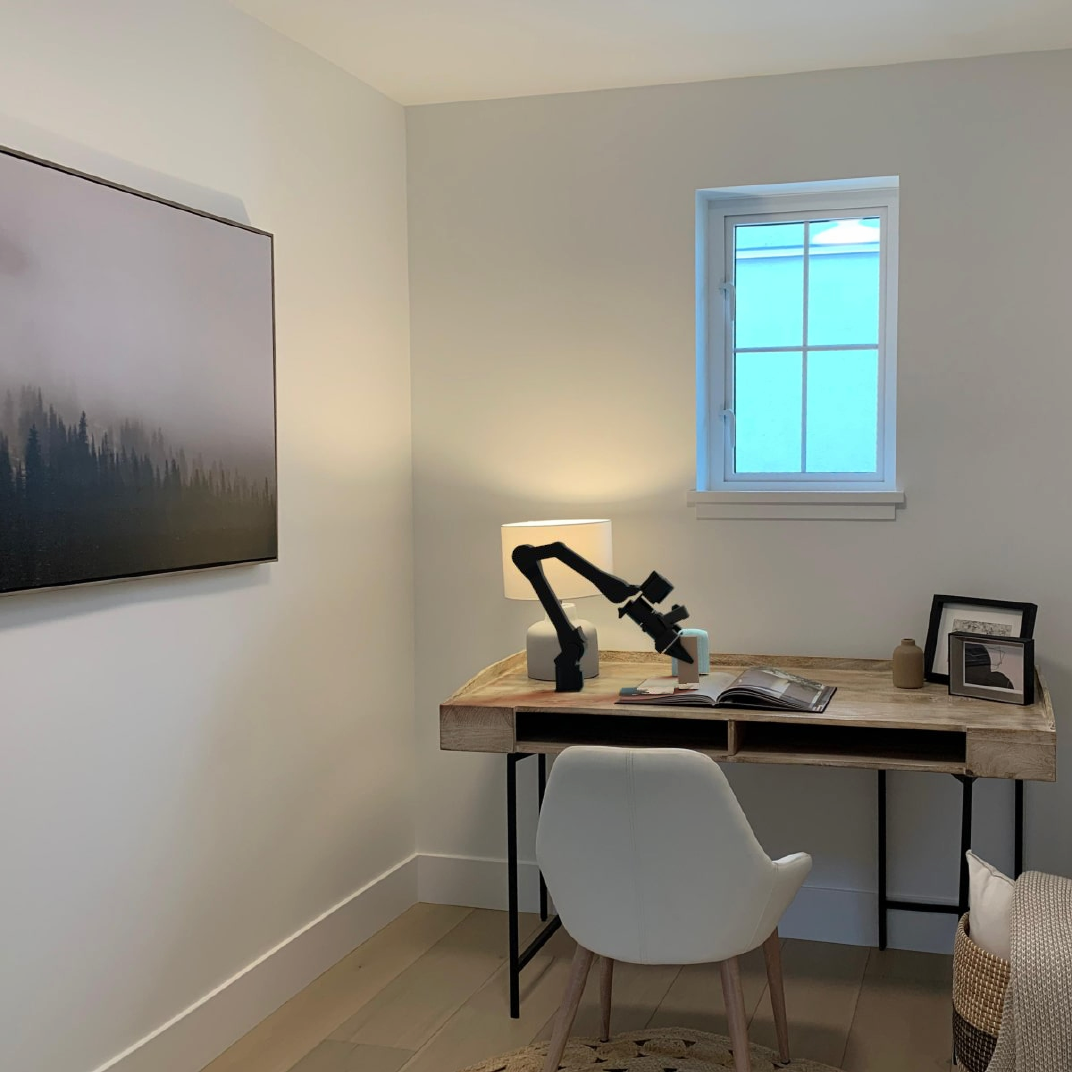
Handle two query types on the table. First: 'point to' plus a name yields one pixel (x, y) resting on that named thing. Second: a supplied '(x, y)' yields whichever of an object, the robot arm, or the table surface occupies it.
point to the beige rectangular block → (686, 670)
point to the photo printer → (702, 651)
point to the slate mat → (630, 691)
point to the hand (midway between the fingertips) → (693, 661)
